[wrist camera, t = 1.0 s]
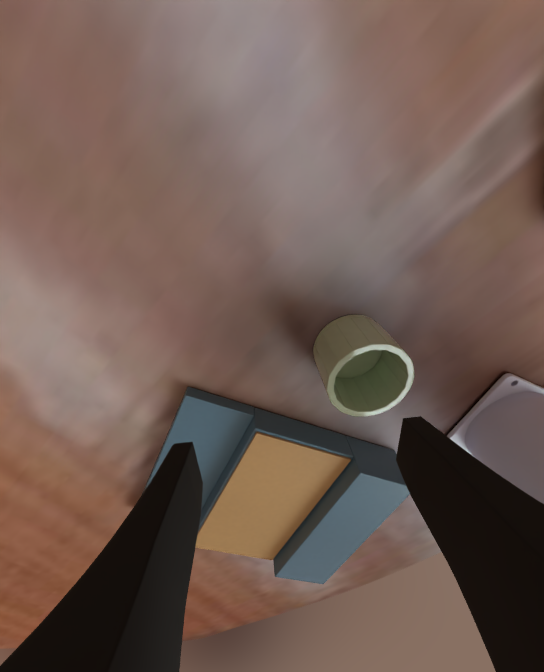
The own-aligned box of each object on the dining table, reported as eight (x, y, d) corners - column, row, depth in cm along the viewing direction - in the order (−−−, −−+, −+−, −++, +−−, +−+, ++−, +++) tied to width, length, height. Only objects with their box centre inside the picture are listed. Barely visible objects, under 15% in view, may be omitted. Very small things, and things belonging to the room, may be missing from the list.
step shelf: (394, 450, 26) (415, 488, 23) (315, 543, 31) (323, 584, 28) (187, 386, 21) (178, 422, 18) (135, 508, 27) (121, 553, 23)
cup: (399, 330, 21) (432, 362, 17) (359, 386, 23) (381, 425, 19) (336, 302, 19) (358, 330, 16) (300, 365, 21) (311, 402, 18)
